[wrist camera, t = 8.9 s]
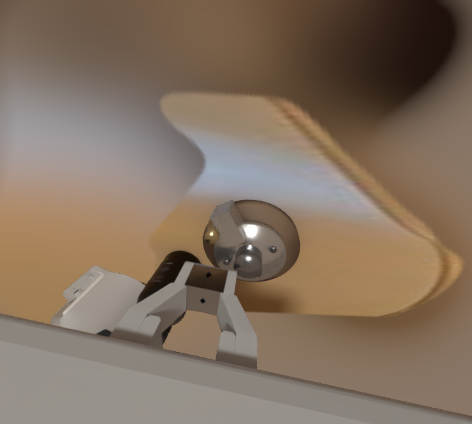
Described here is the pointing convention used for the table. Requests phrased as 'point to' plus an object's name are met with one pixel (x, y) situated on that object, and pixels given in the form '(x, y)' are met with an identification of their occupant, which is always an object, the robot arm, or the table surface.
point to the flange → (246, 245)
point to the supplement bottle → (167, 279)
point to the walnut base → (268, 216)
